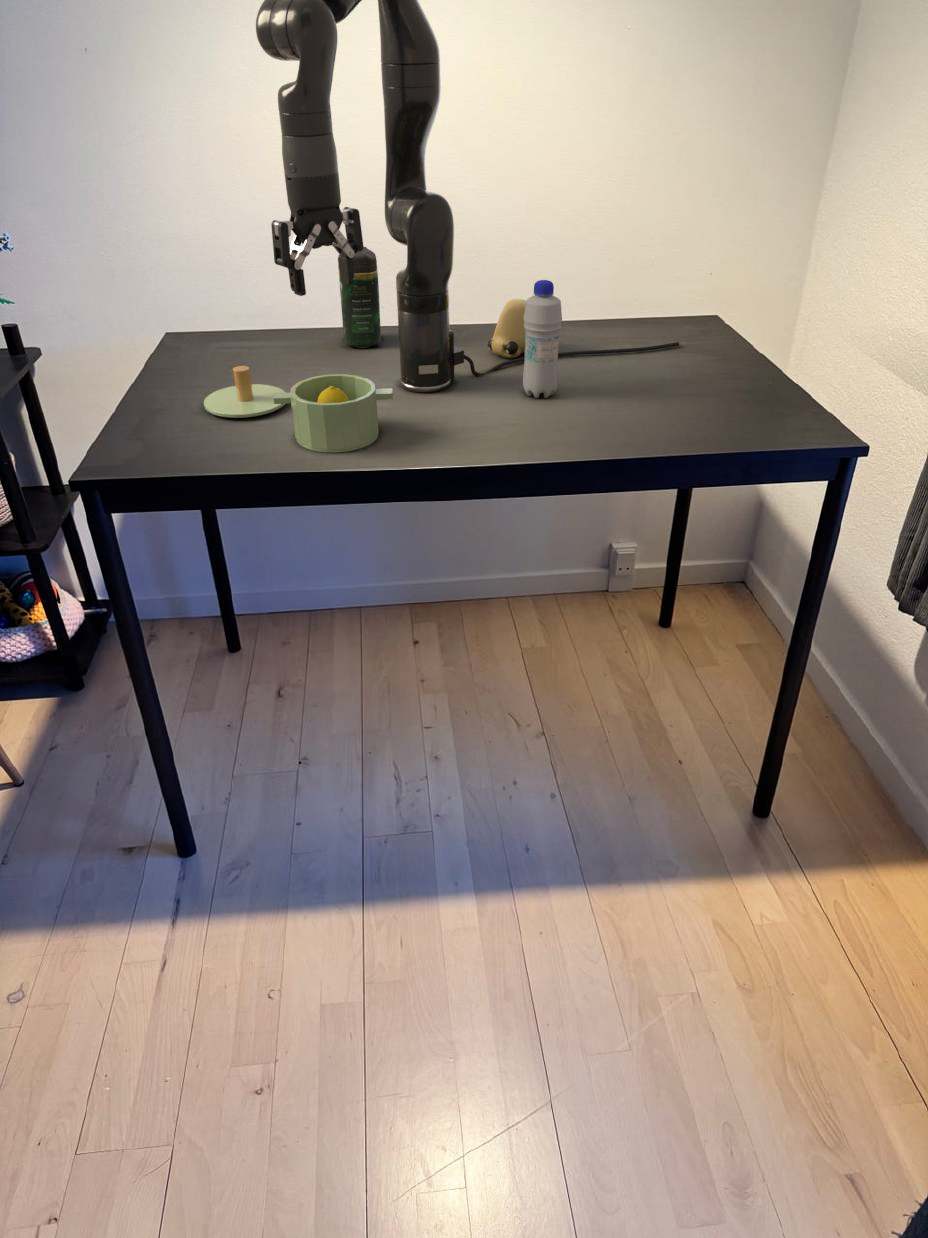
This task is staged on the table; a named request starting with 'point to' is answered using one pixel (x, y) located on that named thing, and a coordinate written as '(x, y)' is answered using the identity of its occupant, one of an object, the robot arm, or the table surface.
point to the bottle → (541, 340)
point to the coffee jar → (361, 302)
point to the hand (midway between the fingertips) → (323, 288)
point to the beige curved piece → (510, 330)
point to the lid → (243, 397)
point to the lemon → (332, 396)
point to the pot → (335, 412)
